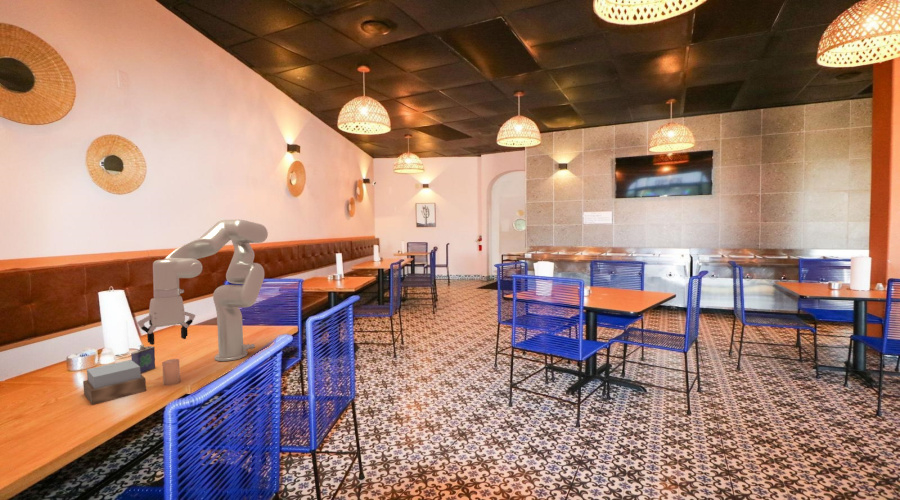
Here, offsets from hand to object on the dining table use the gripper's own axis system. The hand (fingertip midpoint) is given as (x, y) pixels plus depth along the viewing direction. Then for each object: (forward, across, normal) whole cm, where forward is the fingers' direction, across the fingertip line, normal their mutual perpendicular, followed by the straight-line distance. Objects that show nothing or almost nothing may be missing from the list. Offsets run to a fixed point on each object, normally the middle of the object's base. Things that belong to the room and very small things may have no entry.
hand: (168, 341), depth 142 cm
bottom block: (+16, +14, -6) cm, 22 cm away
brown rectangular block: (+16, -1, 0) cm, 16 cm away
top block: (+11, +14, -6) cm, 19 cm away
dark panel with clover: (+16, +2, -24) cm, 28 cm away
